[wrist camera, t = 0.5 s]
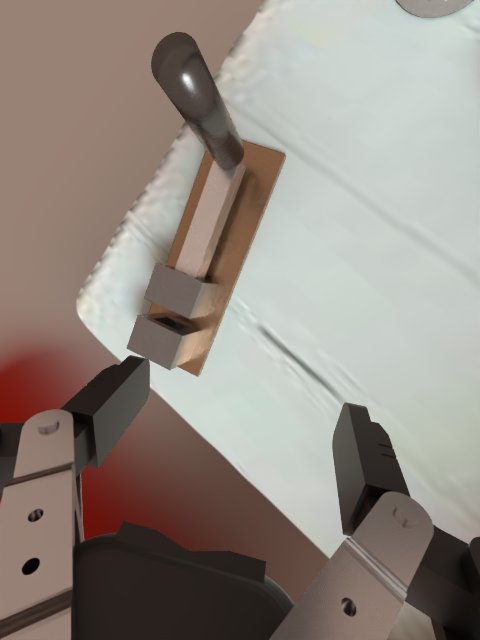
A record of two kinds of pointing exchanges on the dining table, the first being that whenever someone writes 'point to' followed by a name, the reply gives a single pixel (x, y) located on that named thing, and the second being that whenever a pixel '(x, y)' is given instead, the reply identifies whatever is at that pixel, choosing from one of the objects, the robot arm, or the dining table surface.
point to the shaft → (214, 133)
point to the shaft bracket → (217, 287)
